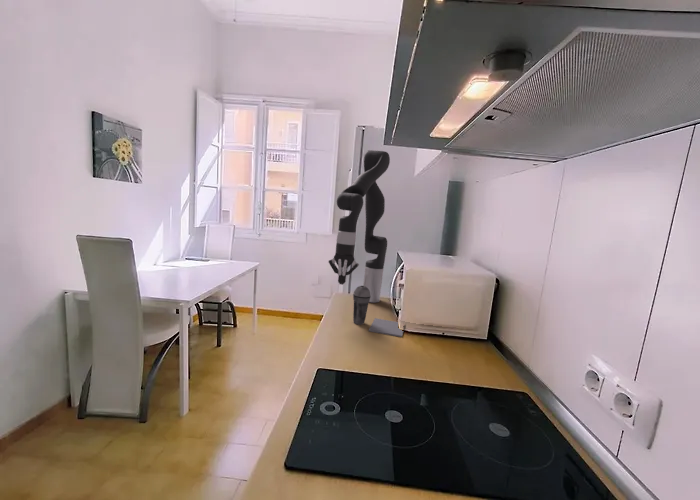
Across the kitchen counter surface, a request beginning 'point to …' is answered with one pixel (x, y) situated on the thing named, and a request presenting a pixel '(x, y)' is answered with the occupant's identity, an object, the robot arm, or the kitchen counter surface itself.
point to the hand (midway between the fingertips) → (341, 284)
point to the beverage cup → (360, 303)
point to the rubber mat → (386, 327)
